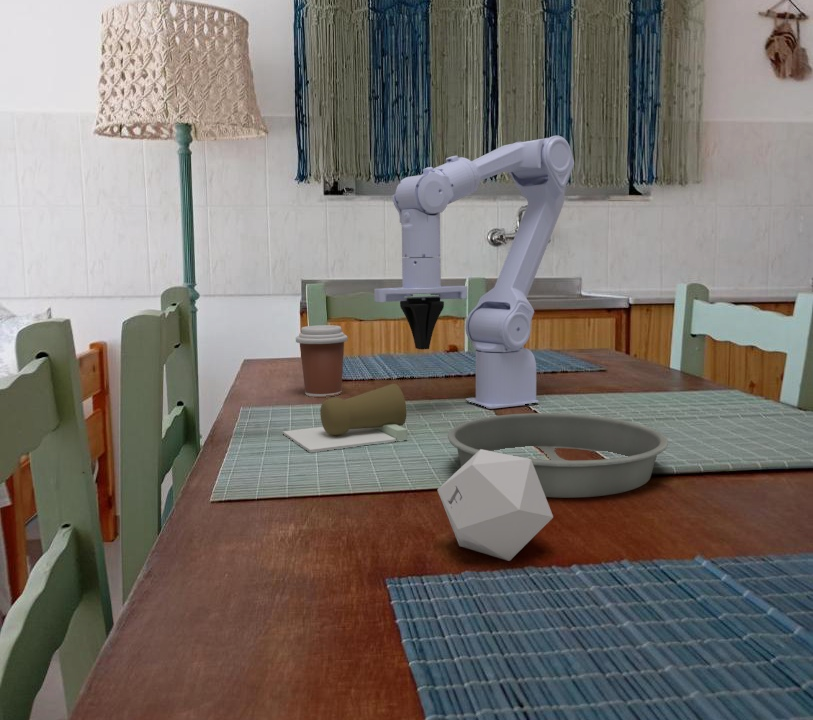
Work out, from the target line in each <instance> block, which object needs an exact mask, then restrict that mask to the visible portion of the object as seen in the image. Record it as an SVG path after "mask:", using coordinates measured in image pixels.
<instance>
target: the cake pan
mask: <svg viewBox="0 0 813 720" xmlns="http://www.w3.org/2000/svg"><path fill="white" fill-rule="evenodd" d="M447 440H448V441H449V443H450V444H451V445H452V447H454V448H456V449H457V454H458V459H459V463H460V468H461V467H462V466H463V465H464V464H465V463H466V462H467V461H468V460H470V459H471V458H472V457H473V456H474V455H475V454H476V453H477V452H478V451H479V450H480V449H482V450H487V451H494V450H500V449H505V448H515V447H525V446H534V447H538V448H540V449H541V450H542V451H544V453H545V454H547V457H549V459H551V460H542V459H531V460H532V463H533V466H534V468H535V471H536V473H537V476H538V478H539V481H540V484H541V486H542V489H543V491H544V494H545V497H546V498H560V499H561V498H591V497H601V496H610V495H617V494H621V493H625V492H629V491H632V490H635V489H638V488H640V487H642V486H643V485H645V484H647V483H648V482H649V481H650V479H651V477H652V473H653V469H654V467H655V462H656V459H657V457H658V455H660V454H662V453H663V452H664V451H665V450H666V449H667V448H668V446H669V439H668V438H667V437H666V436H665V435H664V434H663V433H662V432H660V431H658V430H656V429H654V428H651V427H649V426H646V425H643V424H640V423H636V422H634V421H628V420H623V419H617V418H611V417H605V416H598V415H597V416H596V415H590V414H589V415H587V414H577V413H576V414H575V413H574V414H573V413H559V412H558V413H557V412H556V413H552V412H551V413H550V412H549V413H548V412H535V413H534V412H533V413H532V412H531V413H530V412H529V413H511V414H503V415H502V414H501V415H495V416H494V415H493V416H487V417H481V418H477V419H471V420H469V421H465V422H462V423H460V424H458V425H456V426H454V427H453V428H451V429H450V430H449V432H448V433H447ZM555 448H556V449H555ZM557 449H572V450H583V451H590V452H591V451H592V452H597V451H608V452H613V453H617V454H621V455H625V456H628V457H614V458H607V459H606V458H605V459H587V460H586V459H585V460H582V459H581V460H579V459H578V460H570V459H569V460H567V459H564V458H563V457H560V456H559V454H557V453H556V450H557Z"/></svg>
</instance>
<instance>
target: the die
mask: <svg viewBox="0 0 813 720" xmlns="http://www.w3.org/2000/svg"><path fill="white" fill-rule="evenodd" d="M437 493H438V495H439V497H440V500H441V503H442V505H443V508H444V510H445V512H446V516H447V518H448V520H449V521H448V522H449V523H450V526H451V529H452V531H453V532H454V533H453V534H454V535H455V539H456V541H457V544H458V546H459V547H462V548H464V549H467V550H471V551H474V552H478V553H481V554H484V555H488V556H491V557H494V558H498V559H501V560H504V561H508V562H510V561H512V559H513V558H514V557H515V556H516V555H517V554H518V553H519V552H520V551H521V550H522V549H523V548H524V547H525V546H526V545H528V543H529V542H530V541H531V540H532V539H533V538H534V537H535V536H536V535H537V534H538V533H539V532H540V531H541V530H543V528H544V527H545V526H546V525H547V524H548V523H549V522H551V520H552V519H553V518H554V514H553V513H552V510H551V508H550V504H549V502H548V500H547V497H545V494H544V491H543V489H542V486H541V484H540V481H539V478H538V476H537V473H536V471H535V468H534V466H533V463H532V460H531V459H529V458H524V457H519V456H513V455H508V454H503V453H498V452H493V451H487V450H482V449H480V450H479V451H478V452H477V453H476V454H475V455H474V456H473V457H472V458H471V459H470V460H468V461H467V462H466V463H465V464H464V465H463V466H462V467H461V466H460V467H459V469H458V470H457V471H455V472H454V473H452V475H451V476H450V477H449V478H448V479H447V480H446V481H445V482H443V484H441V485H440V486H439V487H438V488H437Z"/></svg>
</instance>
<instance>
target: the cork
mask: <svg viewBox="0 0 813 720" xmlns="http://www.w3.org/2000/svg"><path fill="white" fill-rule="evenodd" d="M319 411H320V413H319V414H320V415H319V416H320V421H321V425H322V427H323V428H324V430H325V431H326V432H327V433H328V434H330V435H332V436H338V435H342V434H344V433H346V432H347V431H348V430H349V429H359V428H375V427H383V425H385V424H396V425H398V426H401V427H403V425H405V423H406V420H407V412H408V411H407V404H406V399H405V396H404V393H403V391H402V389H401V387H400V386H399V385H398V384H397V383H391V384H387V385H385V386H382V387H379V388H375V389H373V390H369V391H366V392H363V393H361V394H357V395H355V396H352V397H348V398H346V399H343V398H341V397H338V396H335V397H329V398H327V399H325V400H324V401H323V402H322V404H321V406H320V409H319Z"/></svg>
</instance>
